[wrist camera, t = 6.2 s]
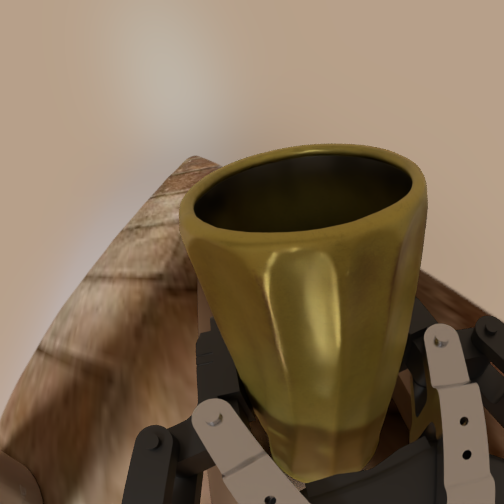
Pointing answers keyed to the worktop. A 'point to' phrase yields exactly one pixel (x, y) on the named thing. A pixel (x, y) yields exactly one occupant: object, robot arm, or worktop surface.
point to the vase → (312, 290)
